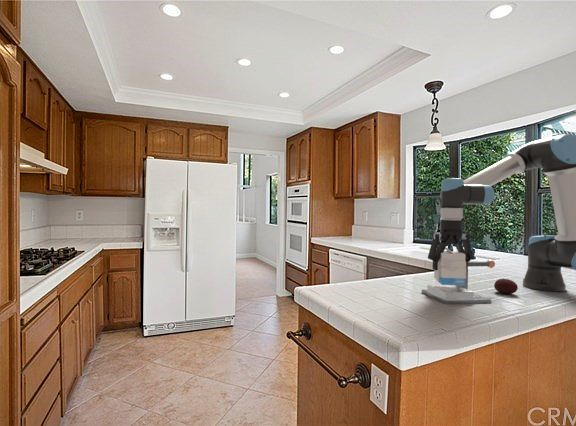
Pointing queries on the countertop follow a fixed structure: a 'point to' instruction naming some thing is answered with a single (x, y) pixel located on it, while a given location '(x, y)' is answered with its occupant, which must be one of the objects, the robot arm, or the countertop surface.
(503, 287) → the potato
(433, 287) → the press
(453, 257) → the ink box
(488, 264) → the lever
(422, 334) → the countertop surface
